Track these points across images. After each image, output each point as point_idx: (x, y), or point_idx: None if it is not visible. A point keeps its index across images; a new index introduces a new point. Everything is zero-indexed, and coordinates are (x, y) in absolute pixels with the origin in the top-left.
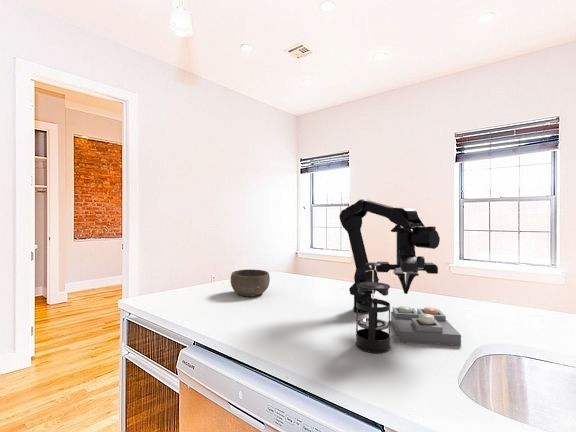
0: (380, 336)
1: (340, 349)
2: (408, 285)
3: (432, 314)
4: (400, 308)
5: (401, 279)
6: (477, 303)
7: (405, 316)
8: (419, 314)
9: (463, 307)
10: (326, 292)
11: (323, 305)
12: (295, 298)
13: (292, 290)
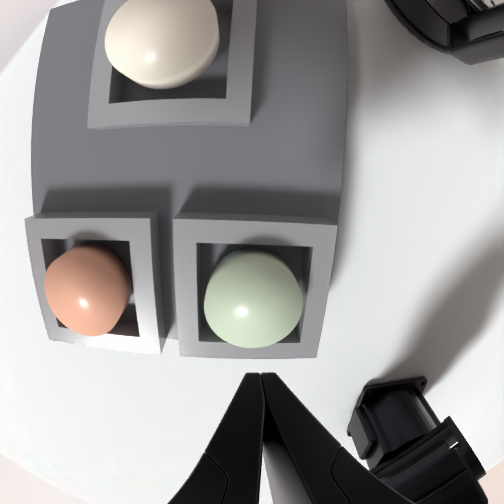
0: (421, 19)
1: None
2: (238, 441)
3: (83, 247)
4: (294, 290)
5: (382, 500)
6: (11, 452)
7: (268, 216)
8: (203, 48)
9: (29, 439)
10: None
11: (474, 405)
12: (499, 424)
13: None
